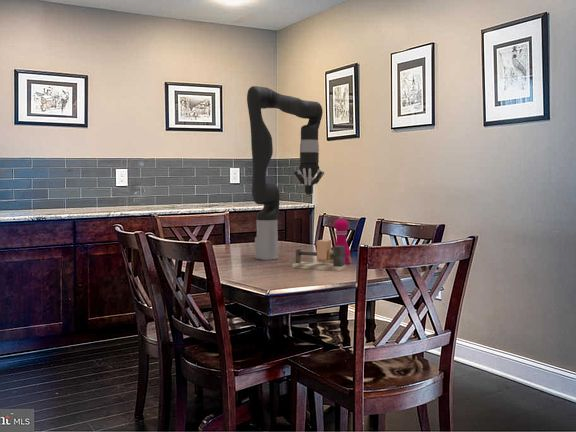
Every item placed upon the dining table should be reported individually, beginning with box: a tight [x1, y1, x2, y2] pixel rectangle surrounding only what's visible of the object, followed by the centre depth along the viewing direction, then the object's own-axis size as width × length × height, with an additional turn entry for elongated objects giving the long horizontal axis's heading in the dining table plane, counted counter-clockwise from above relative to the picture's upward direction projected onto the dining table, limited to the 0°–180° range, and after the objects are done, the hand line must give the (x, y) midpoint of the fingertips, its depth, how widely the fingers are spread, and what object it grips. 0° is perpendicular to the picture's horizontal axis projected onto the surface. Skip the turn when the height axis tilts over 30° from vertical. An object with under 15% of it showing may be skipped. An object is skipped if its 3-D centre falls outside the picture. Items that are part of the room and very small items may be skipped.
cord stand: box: [291, 245, 347, 272], centre depth 222 cm, size 20×7×9 cm, turn 62°
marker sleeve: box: [316, 239, 332, 262], centre depth 221 cm, size 4×5×8 cm
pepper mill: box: [333, 214, 351, 265], centre depth 234 cm, size 7×7×20 cm
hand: (309, 194), depth 228 cm, fingers closed
